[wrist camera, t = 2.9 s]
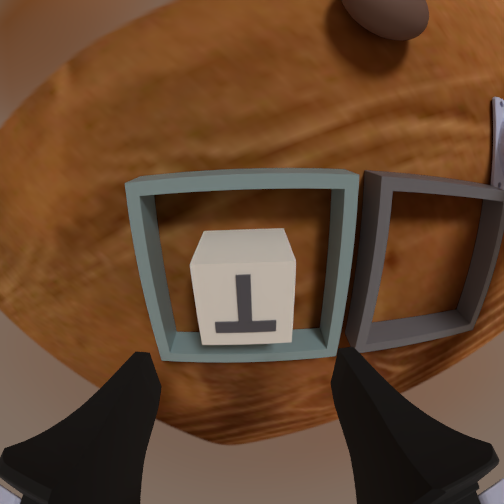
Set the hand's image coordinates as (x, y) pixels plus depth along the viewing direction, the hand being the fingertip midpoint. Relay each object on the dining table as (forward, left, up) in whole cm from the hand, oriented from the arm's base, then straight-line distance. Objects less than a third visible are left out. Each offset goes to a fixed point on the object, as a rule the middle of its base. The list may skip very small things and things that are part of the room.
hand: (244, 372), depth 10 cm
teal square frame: (0, 0, -9) cm, 9 cm away
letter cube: (0, 0, -10) cm, 10 cm away
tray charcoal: (-14, 0, -9) cm, 17 cm away
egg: (-9, -18, -10) cm, 22 cm away
